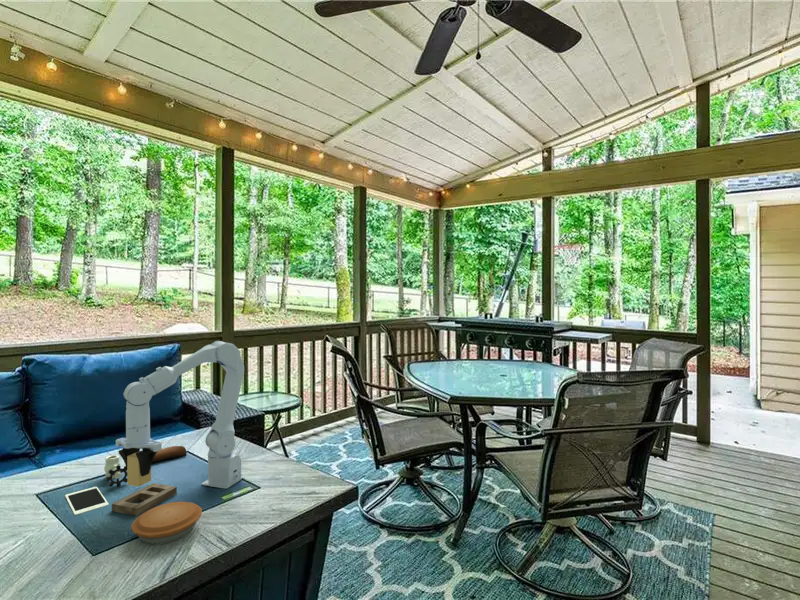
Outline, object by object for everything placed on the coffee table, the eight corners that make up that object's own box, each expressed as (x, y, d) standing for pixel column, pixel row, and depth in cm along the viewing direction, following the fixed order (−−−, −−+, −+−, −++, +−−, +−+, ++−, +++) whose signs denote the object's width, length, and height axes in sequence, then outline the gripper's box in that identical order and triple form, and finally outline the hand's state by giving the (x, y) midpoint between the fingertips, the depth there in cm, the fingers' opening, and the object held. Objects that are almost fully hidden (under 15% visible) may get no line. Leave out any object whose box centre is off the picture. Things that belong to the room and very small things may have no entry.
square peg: (151, 480, 120) (150, 452, 120) (138, 486, 116) (138, 457, 116) (140, 478, 121) (139, 451, 121) (127, 484, 117) (127, 456, 117)
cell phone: (74, 516, 114) (74, 514, 114) (64, 496, 125) (64, 494, 125) (109, 506, 119) (109, 504, 119) (96, 488, 130) (96, 486, 130)
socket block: (176, 493, 126) (176, 486, 126) (137, 515, 113) (137, 508, 113) (153, 489, 128) (152, 483, 128) (111, 511, 116) (111, 503, 116)
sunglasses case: (179, 449, 161) (182, 436, 159) (185, 463, 157) (187, 450, 154) (124, 463, 149) (126, 449, 146) (128, 478, 144) (130, 464, 142)
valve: (98, 478, 137) (106, 490, 128) (98, 458, 137) (105, 468, 128) (122, 472, 141) (131, 483, 133) (122, 452, 141) (131, 462, 133)
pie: (143, 559, 95) (142, 537, 95) (123, 533, 105) (123, 513, 105) (212, 530, 106) (212, 510, 106) (188, 509, 117) (188, 491, 116)
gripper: (105, 427, 117) (105, 476, 117) (145, 432, 112) (146, 483, 113) (128, 420, 123) (129, 466, 124) (167, 424, 119) (168, 472, 119)
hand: (138, 473), depth 119 cm, fingers closed on square peg, 4 cm apart
